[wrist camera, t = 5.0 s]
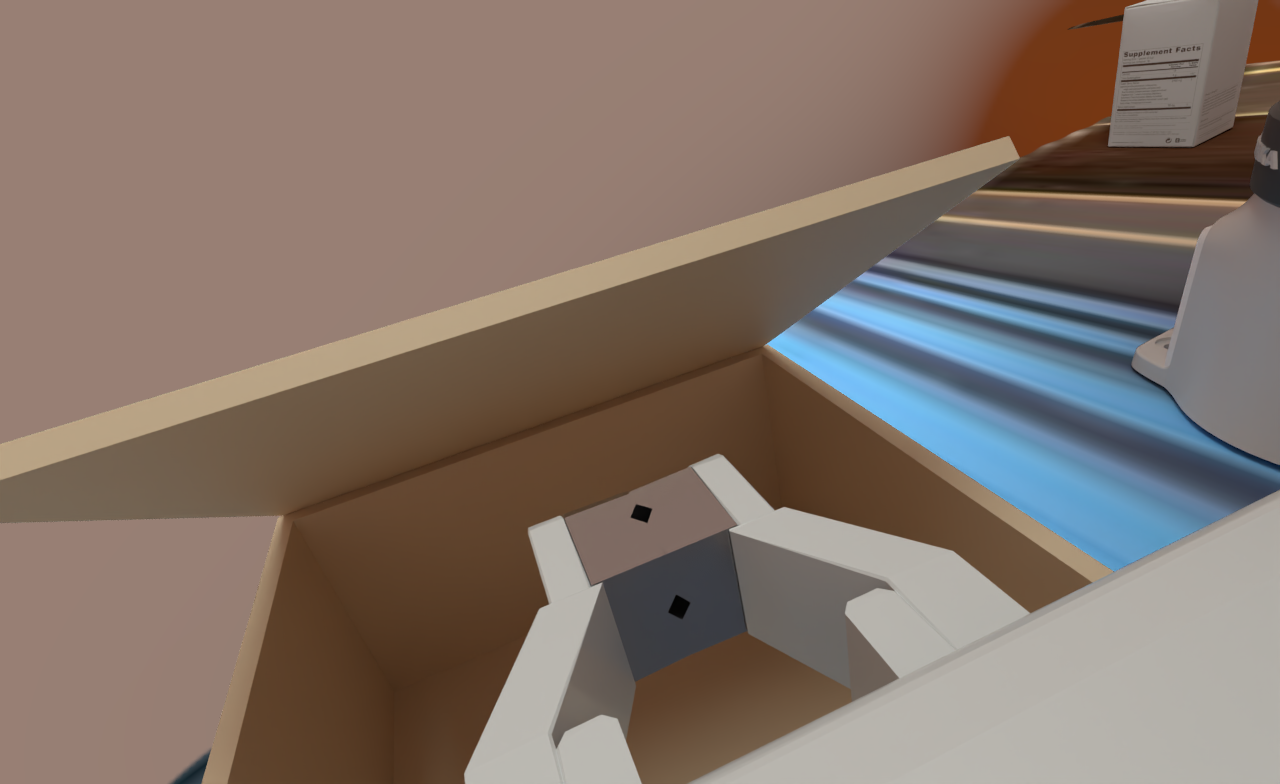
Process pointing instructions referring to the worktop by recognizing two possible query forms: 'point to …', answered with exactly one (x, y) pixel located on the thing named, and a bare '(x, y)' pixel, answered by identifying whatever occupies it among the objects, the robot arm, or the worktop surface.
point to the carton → (514, 592)
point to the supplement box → (1179, 71)
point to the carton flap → (476, 364)
